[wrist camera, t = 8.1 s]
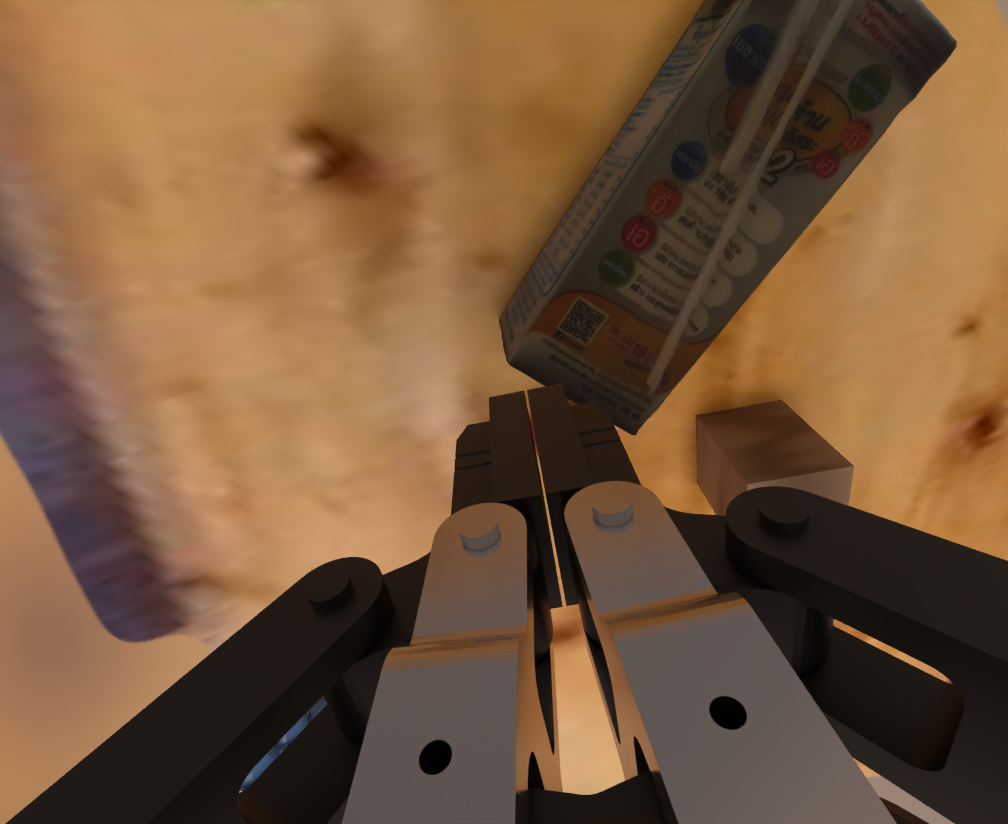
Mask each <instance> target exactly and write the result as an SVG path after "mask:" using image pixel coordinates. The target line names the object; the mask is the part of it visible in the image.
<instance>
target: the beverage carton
mask: <svg viewBox="0 0 1008 824" xmlns="http://www.w3.org/2000/svg"><path fill="white" fill-rule="evenodd" d="M956 45H957V41H956V40H955V39H954V38H953V37H952V36H951V35H950V33H949V32H948V30H947V29H946V28H945V27H944V26H943V25H942V24H941V23H940V21H939V20H938V19H937V18H936V17H935V16H934V15H933V14H932V13H931V12H930V11H929V10H928V9H927V8H926V6H925V5H924V4H923V3H922V2H921V1H920V0H705V1H704V3H703V5H702V6H701V8H700V9H699V11H698V13H697V14H696V16H695V17H694V19H693V20H692V22H691V24H690V25H689V27H688V28H687V30H686V31H685V33H684V34H683V36H682V37H681V39H680V40H679V42H678V43H677V45H676V46H675V48H674V49H673V51H672V52H671V54H670V55H669V57H668V58H667V60H666V61H665V63H664V64H663V66H662V67H661V69H660V70H659V72H658V73H657V75H656V77H655V78H654V80H653V81H652V83H651V84H650V86H649V88H648V89H647V91H646V92H645V94H644V95H643V97H642V99H641V100H640V102H639V103H638V105H637V106H636V108H635V109H634V111H633V112H632V114H631V115H630V117H629V118H628V120H627V121H626V123H625V124H624V126H623V127H622V129H621V130H620V132H619V133H618V135H617V137H616V138H615V140H614V141H613V143H612V144H611V146H610V147H609V149H608V150H607V152H606V153H605V155H604V156H603V157H602V159H601V160H600V162H599V163H598V165H597V166H596V168H595V169H594V171H593V173H592V174H591V176H590V177H589V179H588V180H587V182H586V183H585V185H584V186H583V188H582V189H581V191H580V193H579V194H578V196H577V197H576V199H575V200H574V202H573V203H572V205H571V206H570V208H569V209H568V211H567V212H566V214H565V215H564V217H563V218H562V220H561V222H560V223H559V225H558V226H557V228H556V230H555V231H554V233H553V234H552V236H551V237H550V239H549V241H548V242H547V244H546V245H545V247H544V248H543V250H542V251H541V253H540V255H539V256H538V258H537V259H536V261H535V262H534V264H533V266H532V267H531V269H530V270H529V272H528V274H527V275H526V277H525V279H524V280H523V282H522V284H521V286H520V287H519V289H518V290H517V292H516V293H515V295H514V296H513V298H512V300H511V302H510V304H509V306H508V308H507V309H506V311H505V312H504V314H503V315H502V316H501V318H500V319H499V322H500V328H501V331H502V339H503V347H504V351H505V355H506V360H507V362H508V363H509V364H510V366H512V367H514V368H516V369H517V370H519V371H521V372H522V373H524V374H526V375H527V376H529V377H531V378H533V379H534V380H536V381H538V382H539V383H541V384H542V385H544V386H551V385H557V384H562V385H563V388H564V391H565V394H566V397H567V399H569V400H571V401H572V402H574V403H576V404H578V405H579V404H585V403H590V402H593V403H595V404H596V405H598V406H599V407H601V408H602V409H604V410H605V411H607V412H608V413H609V415H610V417H611V419H612V421H613V424H614V425H615V426H617V427H619V428H620V429H622V430H624V431H626V432H628V433H629V434H631V435H636V434H637V432H638V430H639V429H640V428H641V426H642V425H643V424H644V423H645V422H646V420H647V419H648V418H649V417H650V416H651V415H652V414H653V413H654V412H655V411H656V410H657V409H658V408H659V407H660V405H661V404H662V403H663V402H664V400H665V399H666V398H667V396H668V395H669V394H670V393H671V391H672V390H673V389H674V388H675V387H676V385H677V384H678V383H679V382H680V381H681V379H682V378H683V377H684V376H685V375H686V373H687V372H688V371H689V370H690V369H691V367H692V366H693V365H694V364H695V363H696V361H697V360H698V359H699V358H700V356H701V355H702V354H703V353H704V352H705V350H706V349H707V348H708V347H709V346H710V344H711V343H712V342H713V341H714V340H715V338H716V337H717V336H718V335H719V334H720V332H721V331H722V330H723V329H724V327H725V326H726V325H727V323H728V322H729V321H730V320H731V318H732V317H733V316H734V315H735V313H736V312H737V311H738V310H739V308H740V307H741V306H742V305H743V304H744V303H745V301H746V300H747V299H748V298H749V297H750V295H751V294H752V293H753V292H754V291H755V289H756V288H757V287H758V286H759V284H760V283H761V282H762V281H763V280H764V278H765V277H766V276H767V275H768V274H769V272H770V271H771V270H772V269H773V267H774V266H775V265H776V264H777V263H778V262H779V260H780V259H781V258H782V257H783V256H784V255H785V253H786V252H787V251H788V250H789V249H790V248H791V246H792V245H793V244H794V243H795V241H796V240H797V239H798V237H799V236H800V235H801V234H802V233H803V231H804V230H805V229H806V228H807V227H808V225H809V224H810V223H811V222H812V221H813V219H814V218H815V217H816V216H817V215H818V213H819V212H820V211H821V210H822V209H823V207H824V206H825V205H826V204H827V203H828V201H829V200H830V199H831V198H832V197H833V195H834V194H835V193H836V192H837V190H838V189H839V188H840V187H841V185H842V184H843V183H844V182H845V181H846V179H847V178H848V177H849V176H850V174H851V173H852V172H853V171H854V169H855V168H856V167H857V166H858V165H859V163H860V162H861V161H862V160H863V158H864V157H865V156H866V155H867V154H868V152H869V151H870V150H871V149H872V147H873V146H874V145H875V144H876V142H877V141H878V140H879V139H880V138H881V136H882V135H883V134H884V133H885V131H886V130H887V128H888V127H889V126H890V124H891V123H892V121H893V120H894V119H895V117H896V116H897V115H898V113H899V112H900V111H901V110H902V109H904V108H905V107H906V106H907V105H908V104H909V103H910V102H911V101H912V100H913V99H915V97H916V96H917V94H918V93H919V92H920V90H921V89H922V88H923V86H924V85H925V84H926V82H927V81H928V80H929V79H930V77H931V76H932V75H933V74H934V73H935V72H936V71H937V70H938V69H939V68H940V67H941V66H942V65H943V64H944V63H945V62H946V60H947V59H948V58H949V56H950V55H951V54H952V52H953V51H954V50H955V48H956Z"/></svg>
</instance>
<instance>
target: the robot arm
mask: <svg viewBox="0 0 1008 824" xmlns="http://www.w3.org/2000/svg"><path fill="white" fill-rule="evenodd" d="M527 392H528V398H529V403H530V409H531V415H532V420H533V426H534V431H535V437H536V443H537V448H538V454H539V459H540V465H541V471H542V476H543V482H544V487H545V493H546V498H547V504H548V509H549V514H550V520H551V525H552V530H553V536H554V541H555V546H556V552H557V557H558V562H559V568H560V573H561V579H562V584H563V589H564V595H565V600H566V605H567V606H569V605H575V604H579V608H580V613H581V618H582V623H583V628H584V634H585V640H586V645H587V650H588V653H589V657H590V660H591V663H592V667H593V670H594V673H595V677H596V680H597V684H598V687H599V690H600V694H601V697H602V700H603V704H604V707H605V711H606V714H607V717H608V721H609V724H610V727H611V731H612V734H613V737H614V741H615V744H616V748H617V751H618V754H619V758H620V762H621V765H622V769H623V773H624V777H625V781H624V782H622V783H619V784H617V785H615V786H613V787H611V788H609V789H606V790H604V791H602V792H599V793H597V794H592V795H579V794H572V793H565V792H563V790H562V782H561V772H560V757H559V738H558V720H557V701H556V682H555V663H554V651H553V645H552V638H553V625H552V618H551V611H550V609H552V608H558V607H563V606H562V600H561V594H560V589H559V583H558V577H557V571H556V565H555V559H554V554H553V548H552V542H551V536H550V530H549V525H548V519H547V513H546V507H545V501H544V496H543V490H542V484H541V478H540V473H539V467H538V462H537V457H536V451H535V446H534V441H533V435H532V430H531V425H530V419H529V414H528V409H527V404H526V398H525V393H524V391H520V392H514V393H509V394H504V395H498V396H493V397H489V412H490V421H488V422H482V423H477V424H471V425H468V426H467V427H466V428H465V430H464V431H463V432H462V434H461V435H460V436H459V438H458V439H457V442H456V459H455V472H454V483H453V496H452V510H451V516H450V517H448V518H447V519H446V520H445V521H444V522H443V523H442V524H441V525H440V527H439V528H438V530H437V531H436V533H435V536H434V539H433V544H432V549H431V552H429V553H428V554H427V555H425V556H424V557H422V558H420V559H419V560H417V561H415V562H412V563H410V564H408V565H406V566H403V567H401V568H398V569H396V570H394V571H391V572H389V573H387V574H384V575H382V573H381V571H380V569H379V567H378V566H377V565H376V564H375V563H374V562H372V561H370V560H368V559H365V558H360V557H347V558H341V559H337V560H333V561H331V562H328V563H325V564H323V565H321V566H319V567H317V568H315V569H314V570H312V571H311V572H309V573H308V574H306V575H305V576H304V577H302V578H301V579H300V580H299V581H298V582H296V583H295V584H294V585H293V586H292V587H290V588H289V589H288V590H287V591H285V592H284V593H283V594H282V595H281V596H279V597H278V598H277V599H276V600H275V601H273V602H272V603H271V604H270V605H269V606H267V607H266V608H265V609H264V610H263V611H261V612H260V613H259V614H258V615H257V616H255V617H254V618H253V619H252V620H251V621H249V622H248V623H247V624H246V625H244V626H243V627H242V628H241V629H240V630H238V631H237V632H236V633H235V634H234V635H232V636H231V637H230V638H229V639H228V640H226V641H225V642H224V643H223V644H222V645H220V646H219V647H218V648H217V649H216V650H214V651H213V652H212V653H211V654H210V655H208V656H207V657H206V658H205V659H204V660H202V661H201V662H200V663H199V664H198V665H196V666H195V667H194V668H193V669H191V670H190V671H189V672H188V673H187V674H185V675H184V676H183V677H182V678H181V679H179V680H178V681H177V682H176V683H175V684H173V685H172V686H171V687H170V688H169V689H167V690H166V691H165V692H164V693H163V694H161V695H160V696H159V697H158V698H156V699H155V700H154V701H153V702H152V703H150V704H149V705H148V706H147V707H146V708H145V709H143V710H142V711H141V712H140V713H138V714H137V715H136V716H135V717H134V718H132V719H131V720H130V721H129V722H128V723H126V724H125V725H124V726H123V727H121V729H119V730H118V731H117V732H115V733H114V734H113V735H112V736H111V737H109V738H108V739H107V740H106V741H105V742H103V743H102V744H101V745H100V746H99V747H97V749H95V750H94V751H93V752H91V753H90V754H89V755H88V756H87V757H85V758H84V759H83V760H82V761H81V762H79V763H78V764H77V765H76V766H75V767H73V768H72V769H71V770H70V771H68V772H67V773H66V774H65V775H64V776H62V777H61V778H60V779H59V780H58V781H57V782H55V783H54V784H53V785H52V786H50V787H49V788H48V789H47V790H46V791H44V792H43V793H42V794H41V795H39V796H38V797H37V798H36V799H35V800H33V801H32V802H31V803H30V804H29V805H27V806H26V807H25V808H24V809H23V810H22V811H20V812H19V813H18V814H17V815H15V816H14V817H13V818H12V819H11V820H10V821H8V822H7V823H6V824H929V823H927V822H925V821H924V820H922V819H920V818H918V817H917V816H915V815H913V814H911V813H910V812H908V811H906V810H905V809H903V808H901V807H899V806H898V805H896V804H894V803H891V802H889V801H887V800H885V799H883V798H880V797H879V796H878V795H877V793H876V792H875V791H874V789H873V787H872V786H871V784H870V783H869V782H868V780H867V779H866V777H865V776H864V774H863V773H862V771H861V770H860V768H859V767H858V765H857V764H856V762H855V761H854V759H853V758H855V759H856V760H858V761H859V762H861V763H862V764H864V765H866V766H867V767H869V768H870V769H872V770H873V771H875V772H876V773H878V774H879V775H881V776H882V777H884V778H886V779H887V780H889V781H890V782H892V783H893V784H895V785H896V786H898V787H899V788H901V789H902V790H904V791H906V792H907V793H909V794H910V795H912V796H913V797H915V798H916V799H918V800H919V801H921V802H922V803H924V804H926V805H927V806H929V807H930V808H932V809H933V810H935V811H936V812H938V813H939V814H941V815H942V816H944V817H946V818H947V819H949V820H950V821H952V822H953V823H955V824H1008V561H1006V560H1003V559H1000V558H997V557H995V556H992V555H989V554H986V553H983V552H980V551H977V550H974V549H971V548H969V547H966V546H963V545H960V544H957V543H954V542H951V541H948V540H946V539H943V538H940V537H937V536H934V535H931V534H928V533H925V532H922V531H920V530H917V529H914V528H911V527H908V526H905V525H902V524H899V523H897V522H894V521H891V520H888V519H885V518H882V517H879V516H876V515H873V514H871V513H868V512H865V511H862V510H859V509H856V508H853V507H850V506H847V505H845V504H842V503H839V502H836V501H833V500H830V499H827V498H824V497H822V496H819V495H816V494H813V493H810V492H807V491H803V490H800V489H795V488H790V487H781V486H767V487H759V488H754V489H751V490H748V491H745V492H743V493H741V494H739V495H737V496H736V497H735V498H734V499H732V501H731V502H730V503H729V505H728V507H727V509H726V516H722V515H703V514H690V513H684V512H679V511H675V510H672V509H669V508H666V507H664V506H663V505H662V503H661V502H660V500H659V499H658V497H657V496H656V495H655V494H654V493H653V492H652V491H650V490H649V489H647V488H645V487H643V486H641V484H640V482H639V479H638V477H637V475H636V473H635V470H634V468H633V466H632V464H631V462H630V459H629V457H628V455H627V453H626V450H625V448H624V446H623V444H622V442H621V440H620V437H619V435H618V433H617V430H615V426H614V424H613V421H612V419H611V417H610V415H609V413H608V412H607V411H605V410H604V409H602V408H601V407H599V406H598V405H596V404H595V403H593V402H590V403H585V404H579V405H574V406H569V403H568V400H567V397H566V394H565V391H564V388H563V385H562V384H557V385H551V386H546V387H541V388H535V389H530V390H527ZM834 619H836V620H838V621H840V622H842V623H844V624H846V625H848V626H850V627H852V628H854V629H856V630H858V631H860V632H862V633H864V634H867V635H869V636H871V637H873V638H875V639H877V640H879V641H881V642H883V643H885V644H887V645H889V646H891V647H893V648H895V649H897V650H899V651H901V652H903V653H905V654H907V655H909V656H911V657H913V658H915V659H917V660H919V661H921V662H923V663H925V664H927V665H929V666H931V667H933V668H935V669H936V670H938V671H939V672H941V673H942V674H943V675H945V676H946V677H947V678H948V679H949V680H950V681H951V682H952V683H954V685H952V684H949V683H947V682H944V681H942V680H940V679H938V678H936V677H934V676H932V675H930V674H928V673H926V672H924V671H922V670H920V669H918V668H916V667H914V666H912V665H910V664H908V663H906V662H904V661H902V660H900V659H898V658H896V657H894V656H892V655H890V654H888V653H886V652H884V651H882V650H880V649H878V648H876V647H874V646H872V645H870V644H868V643H866V642H864V641H862V640H860V639H858V638H856V637H854V636H852V635H850V634H848V633H847V632H845V631H843V630H841V629H839V628H837V627H835V626H833V620H834ZM322 696H323V697H324V698H325V700H326V702H327V705H326V706H325V707H324V708H323V709H322V710H321V711H320V712H319V713H318V714H317V715H316V716H315V717H314V719H313V720H312V721H311V722H310V723H309V724H308V725H307V726H306V727H305V728H304V729H303V730H302V731H301V732H300V733H299V734H298V735H297V737H296V738H295V739H294V740H293V741H292V742H291V743H290V744H289V745H288V746H287V747H286V748H285V749H284V750H283V751H282V752H281V753H280V754H279V756H278V757H277V758H276V759H275V760H274V761H273V762H272V763H271V764H270V765H269V766H268V767H267V768H266V769H265V770H264V771H263V772H262V774H261V775H260V776H259V777H258V778H257V779H256V780H255V781H254V782H253V783H252V784H251V785H250V786H249V787H248V788H246V789H245V790H244V791H242V792H241V793H239V791H240V789H241V786H242V784H243V782H244V781H245V779H246V777H247V776H248V774H249V773H250V772H251V770H252V769H253V768H254V767H255V766H256V765H257V764H258V762H259V761H260V760H261V759H262V758H263V757H264V756H265V755H266V754H267V753H268V752H269V751H270V750H271V749H272V748H273V747H274V746H275V745H276V744H277V743H278V742H279V741H280V740H281V739H282V738H283V737H284V736H285V734H286V733H287V732H288V731H289V730H290V729H291V728H292V727H293V726H294V725H295V724H296V723H297V722H298V721H299V720H300V719H301V718H302V717H303V716H304V715H305V714H306V713H307V712H308V711H309V710H310V709H311V708H312V706H313V705H314V704H315V703H316V702H317V701H318V700H319V699H320V698H321V697H322ZM852 757H853V758H852Z"/></svg>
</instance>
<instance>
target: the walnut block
mask: <svg viewBox="0 0 1008 824" xmlns="http://www.w3.org/2000/svg"><path fill="white" fill-rule="evenodd" d="M696 440H697V483H698V485H699V487H700V489H701V490H702V492H703V494H704V495H705V497H706V499H707V500H708V502H709V503H710V505H711V507H712V508H713V510H714V512H715V513H716V515H722V516H726V509H727V507H728V505H729V503H730V502H731V501H732V499H734V498H735V497H736V496H737V495H739V494H741V493H743V492H745V491H748V490H751V489H754V488H759V487H767V486H781V487H790V488H795V489H800V490H803V491H807V492H810V493H813V494H816V495H819V496H822V497H824V498H827V499H830V500H833V501H836V502H839V503H842V504H845V505H847V506H848V504H849V497H850V490H851V483H852V475H853V468H854V466H853V465H852V464H851V463H850V462H849V461H848V460H847V459H845V458H844V457H843V456H842V455H841V454H840V453H839V452H838V451H837V450H836V449H834V448H833V447H832V446H831V445H830V444H829V443H828V442H827V441H826V440H825V439H823V438H822V437H821V436H820V435H819V434H818V433H817V432H816V431H815V430H814V429H813V428H811V427H810V426H809V425H808V424H807V423H806V422H805V421H804V420H803V419H802V418H800V417H799V416H798V415H797V414H796V413H795V412H794V411H793V410H792V409H791V408H789V407H788V406H787V405H786V404H785V403H784V402H783V401H782V400H780V401H774V402H768V403H763V404H757V405H752V406H746V407H741V408H735V409H730V410H724V411H719V412H713V413H707V414H702V415H696Z"/></svg>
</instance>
